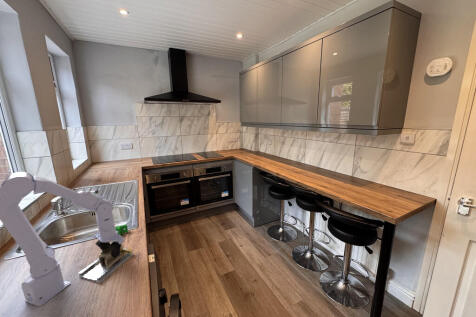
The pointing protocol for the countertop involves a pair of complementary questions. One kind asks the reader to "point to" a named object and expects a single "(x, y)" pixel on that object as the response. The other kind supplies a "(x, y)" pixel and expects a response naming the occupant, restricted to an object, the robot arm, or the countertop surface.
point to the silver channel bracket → (103, 268)
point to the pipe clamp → (121, 229)
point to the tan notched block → (109, 256)
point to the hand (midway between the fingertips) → (112, 255)
